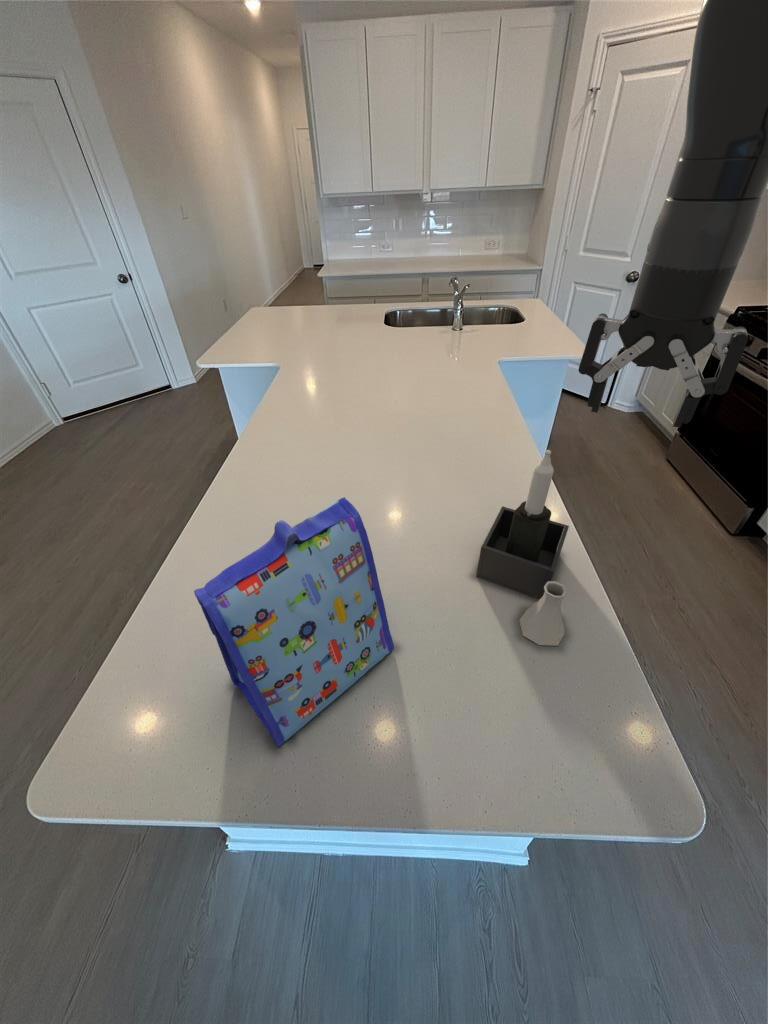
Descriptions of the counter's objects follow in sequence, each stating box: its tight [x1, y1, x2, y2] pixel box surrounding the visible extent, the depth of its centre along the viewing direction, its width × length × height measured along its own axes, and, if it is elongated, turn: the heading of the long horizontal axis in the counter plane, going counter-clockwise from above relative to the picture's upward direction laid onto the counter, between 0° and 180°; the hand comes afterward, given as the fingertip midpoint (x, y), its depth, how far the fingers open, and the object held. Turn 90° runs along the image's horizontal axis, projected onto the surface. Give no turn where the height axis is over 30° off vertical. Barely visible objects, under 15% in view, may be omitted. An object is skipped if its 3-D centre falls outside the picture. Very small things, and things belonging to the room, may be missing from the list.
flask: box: [518, 580, 567, 647], centre depth 69 cm, size 7×7×10 cm
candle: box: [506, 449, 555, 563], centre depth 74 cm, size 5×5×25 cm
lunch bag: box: [193, 497, 395, 747], centre depth 59 cm, size 22×14×29 cm, turn 133°
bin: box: [475, 505, 570, 600], centre depth 80 cm, size 12×12×8 cm
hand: (634, 416), depth 51 cm, fingers open, 8 cm apart
